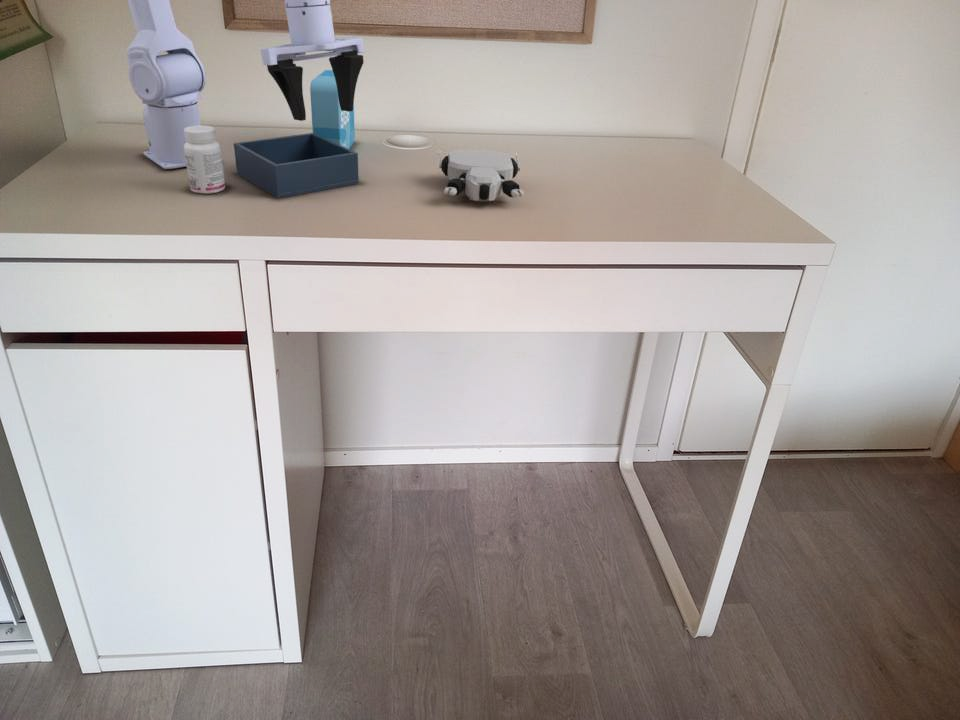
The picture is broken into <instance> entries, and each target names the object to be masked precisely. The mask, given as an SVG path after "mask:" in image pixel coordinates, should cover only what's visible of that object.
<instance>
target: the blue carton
mask: <svg viewBox="0 0 960 720" xmlns="http://www.w3.org/2000/svg"><path fill="white" fill-rule="evenodd" d="M309 95H310V108H311V109H310V110H311V127H312V133H315V134H317V135H319V136H321V137H323V138H326V139H328V140H330V141H332V142H334V143H337V144H339V145H341V146H343V147H345V148H348V149H350V148H351V147H352V146H353V144H354V143H355V137H356V136H355V134H356V130H355V129H356V128H355V104H353V111H350V112H348V111H342V110H341V108H340V104H339V98H338V91H337V85H336V80H335V76H334V73H333V70H332V69H324V71H322V72H321V73H319V74H318V75H317V76H315V77H314V78H313V79H311V81H310V87H309Z"/></svg>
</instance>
